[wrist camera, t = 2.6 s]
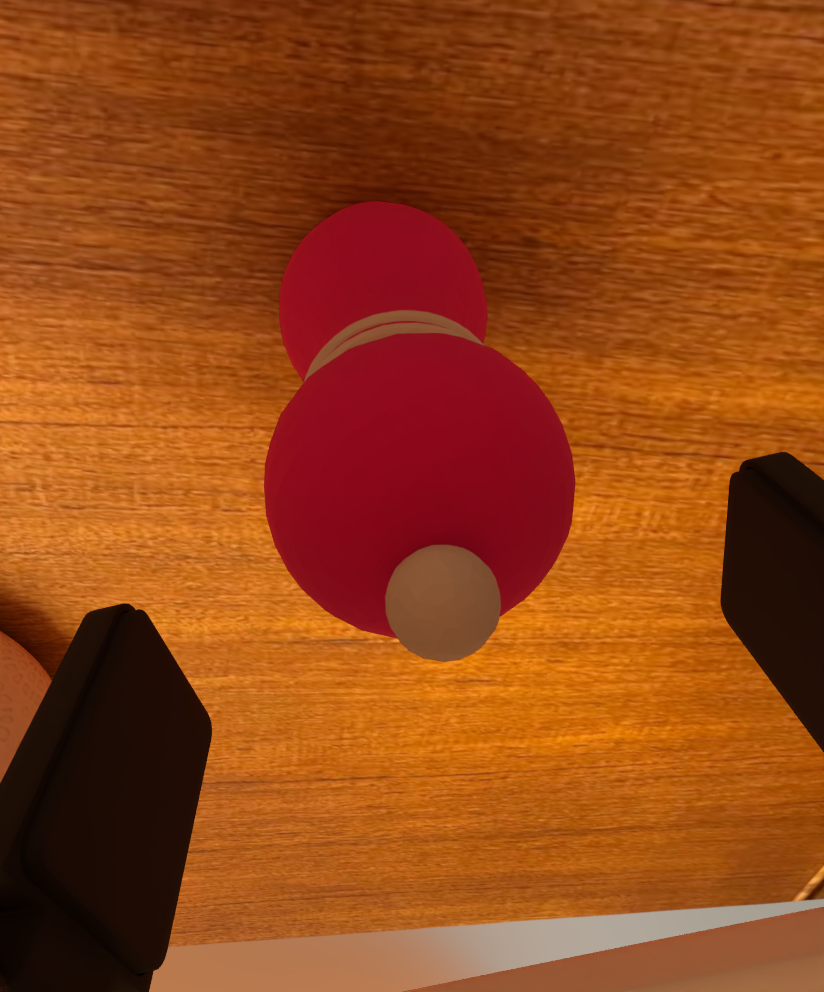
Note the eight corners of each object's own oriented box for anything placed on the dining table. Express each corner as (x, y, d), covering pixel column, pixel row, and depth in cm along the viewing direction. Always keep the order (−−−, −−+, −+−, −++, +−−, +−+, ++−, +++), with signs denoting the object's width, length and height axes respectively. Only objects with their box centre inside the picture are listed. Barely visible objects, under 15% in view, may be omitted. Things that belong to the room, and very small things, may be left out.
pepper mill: (425, 152, 23) (655, 306, 6) (487, 327, 27) (730, 707, 10) (253, 234, 24) (62, 556, 7) (336, 392, 28) (334, 838, 11)
